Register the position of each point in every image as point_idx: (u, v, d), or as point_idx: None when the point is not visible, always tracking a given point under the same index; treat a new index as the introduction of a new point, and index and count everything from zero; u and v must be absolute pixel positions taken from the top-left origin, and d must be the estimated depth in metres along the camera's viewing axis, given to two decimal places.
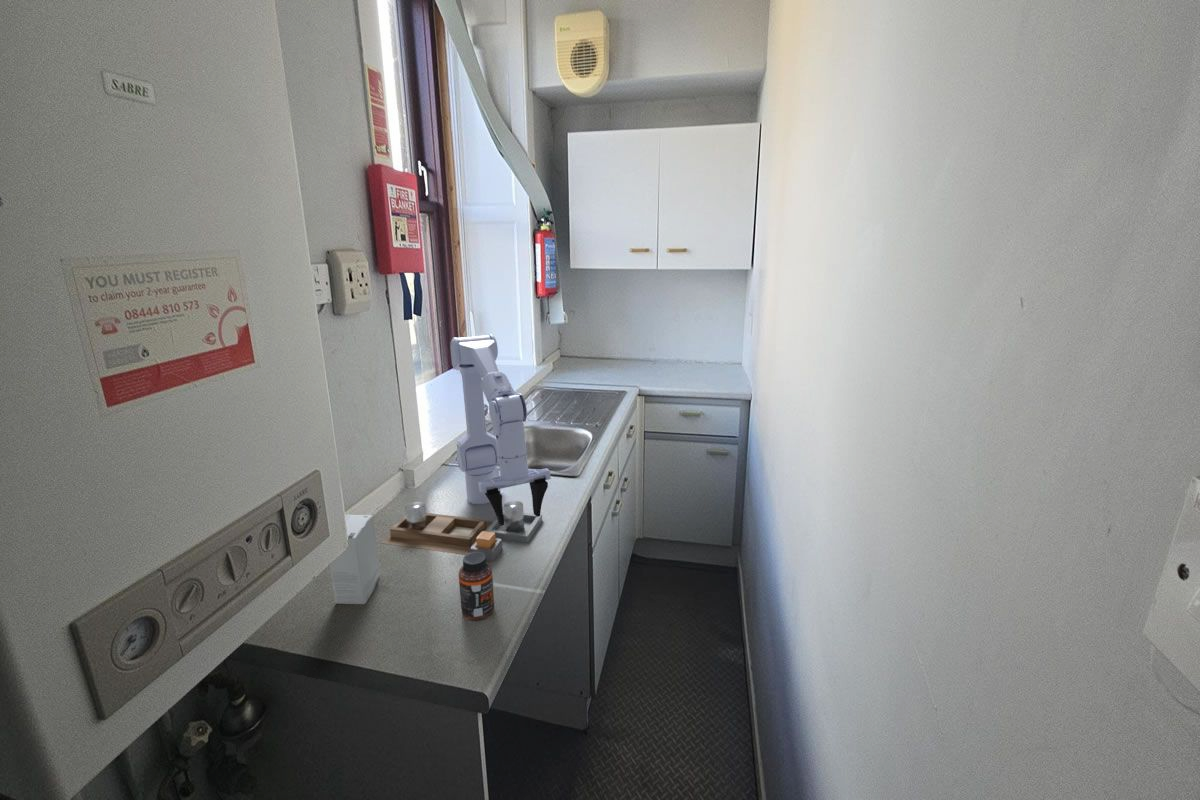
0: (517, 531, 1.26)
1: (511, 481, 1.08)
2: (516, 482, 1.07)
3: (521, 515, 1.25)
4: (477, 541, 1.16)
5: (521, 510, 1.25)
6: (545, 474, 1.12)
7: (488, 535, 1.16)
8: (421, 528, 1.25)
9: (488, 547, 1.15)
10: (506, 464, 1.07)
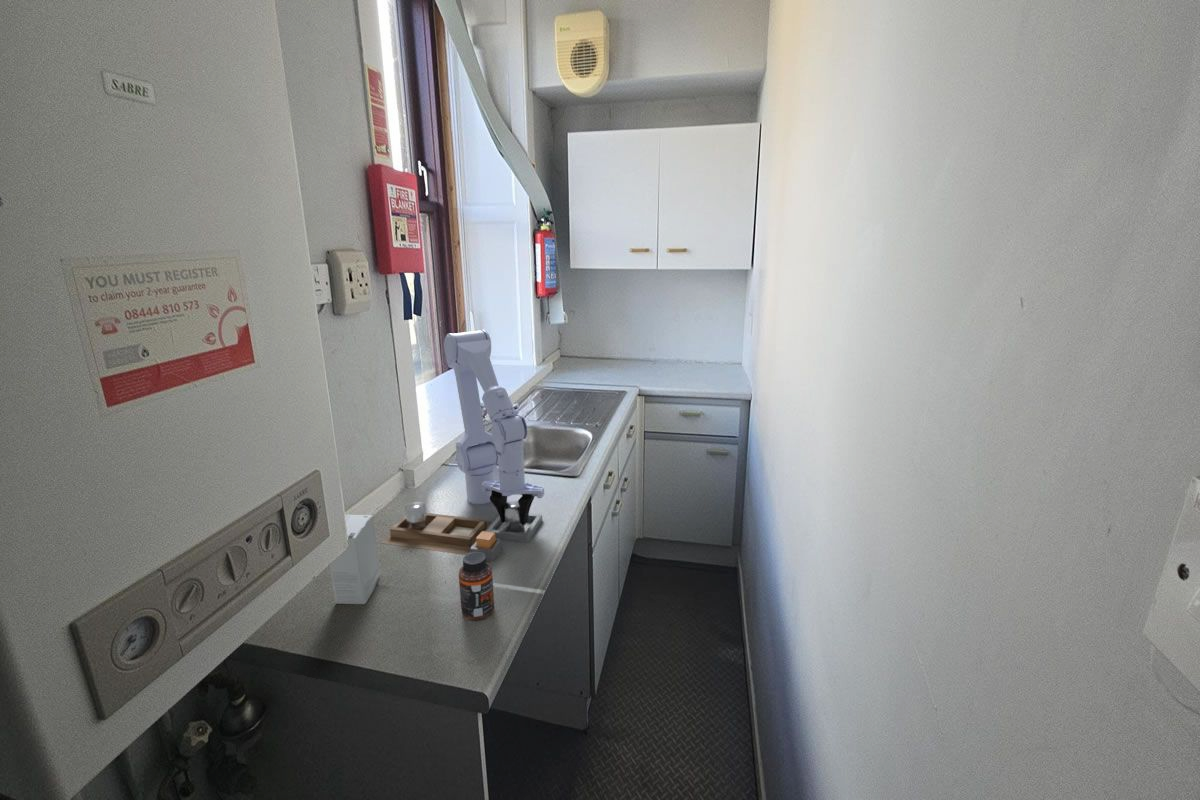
0: (517, 531, 1.26)
1: (501, 490, 1.22)
2: (502, 493, 1.21)
3: None
4: (477, 541, 1.16)
5: None
6: (536, 493, 1.22)
7: (488, 535, 1.16)
8: (421, 528, 1.25)
9: (488, 547, 1.15)
10: (499, 475, 1.22)
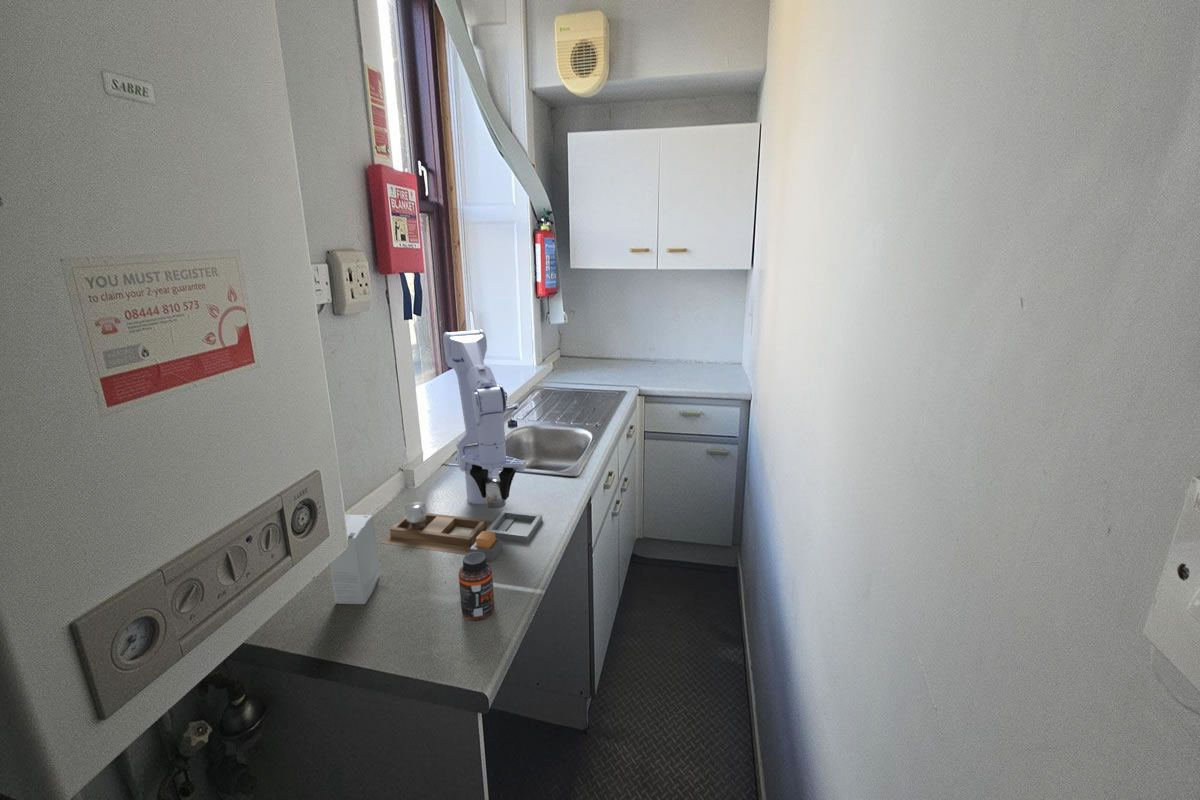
0: (498, 506, 1.23)
1: (481, 464, 1.19)
2: (482, 466, 1.18)
3: None
4: (477, 541, 1.16)
5: None
6: (517, 466, 1.19)
7: (488, 535, 1.16)
8: (421, 528, 1.25)
9: (488, 547, 1.15)
10: (479, 448, 1.19)
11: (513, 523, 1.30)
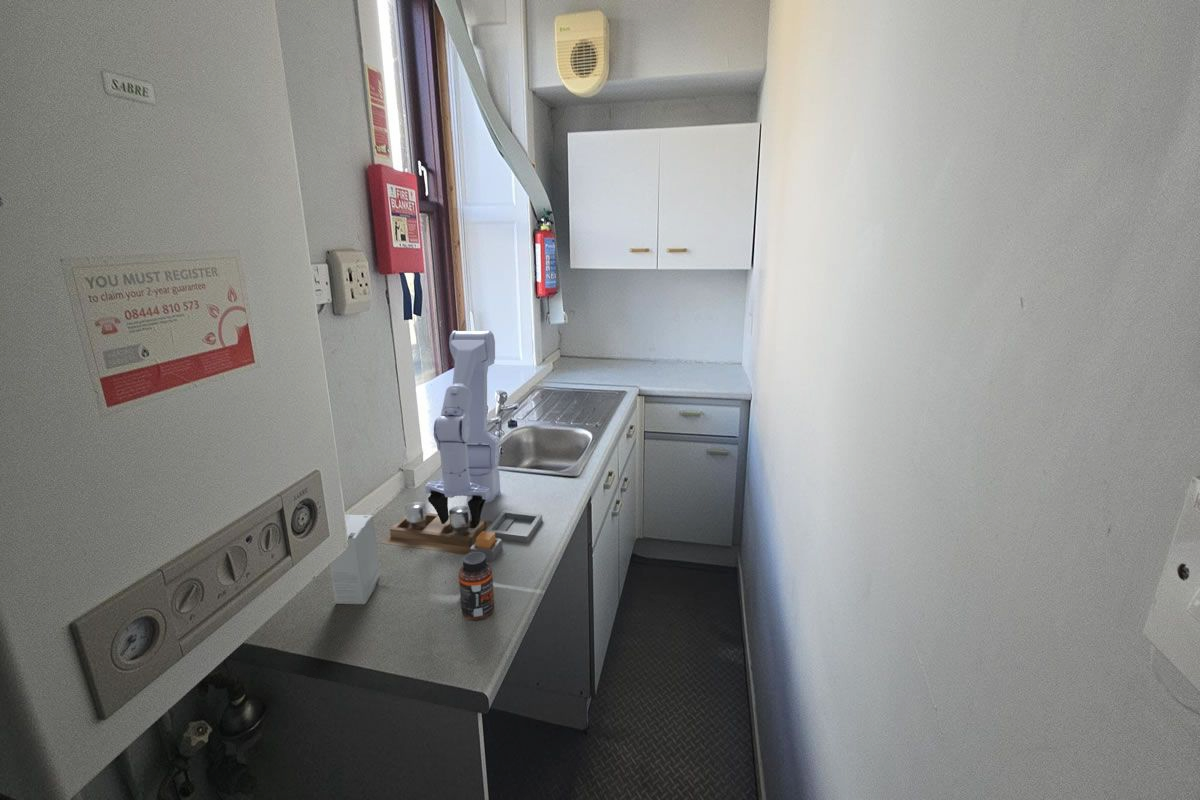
0: None
1: (444, 492, 1.19)
2: (445, 494, 1.17)
3: (466, 521, 1.22)
4: (477, 541, 1.16)
5: (466, 515, 1.22)
6: (481, 494, 1.19)
7: (488, 535, 1.16)
8: (421, 528, 1.25)
9: (488, 547, 1.15)
10: (443, 476, 1.18)
11: (513, 523, 1.30)
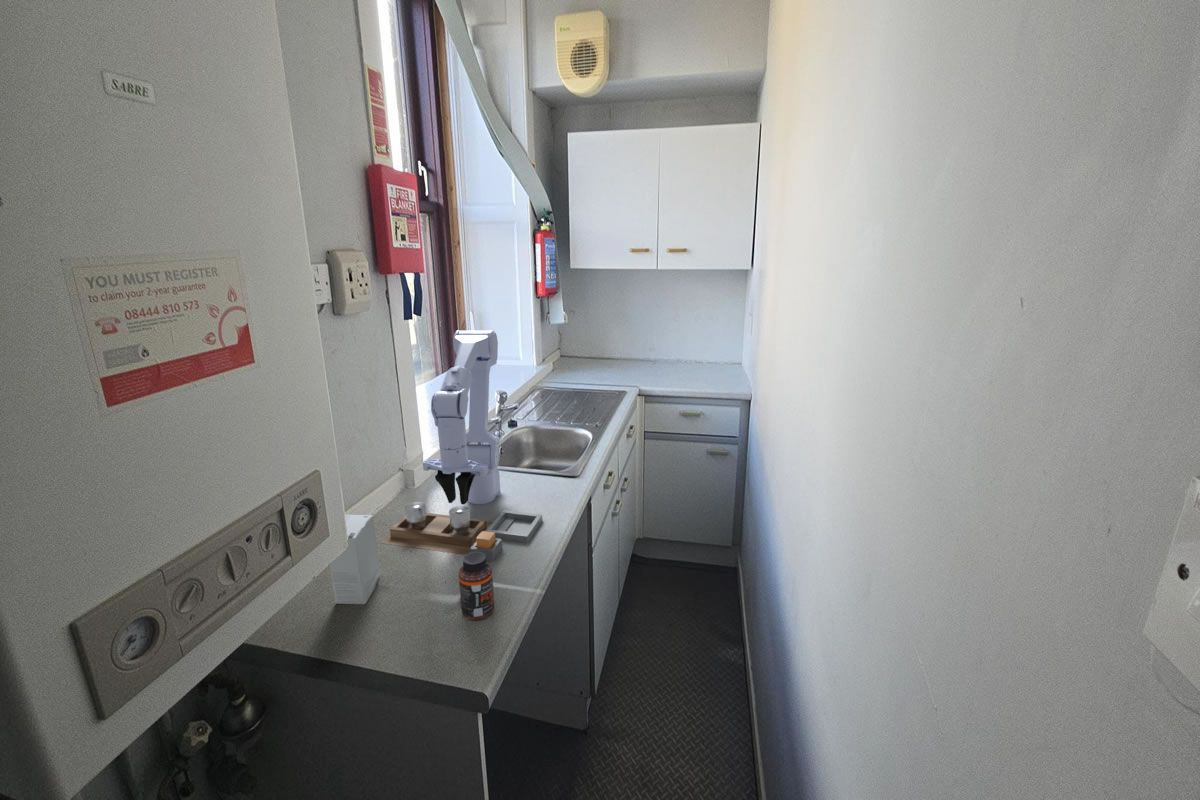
0: None
1: (442, 468, 1.17)
2: (442, 471, 1.16)
3: (466, 521, 1.22)
4: (477, 541, 1.16)
5: (466, 515, 1.22)
6: (479, 471, 1.17)
7: (488, 535, 1.16)
8: (421, 528, 1.25)
9: (488, 547, 1.15)
10: (440, 452, 1.17)
11: (513, 523, 1.30)
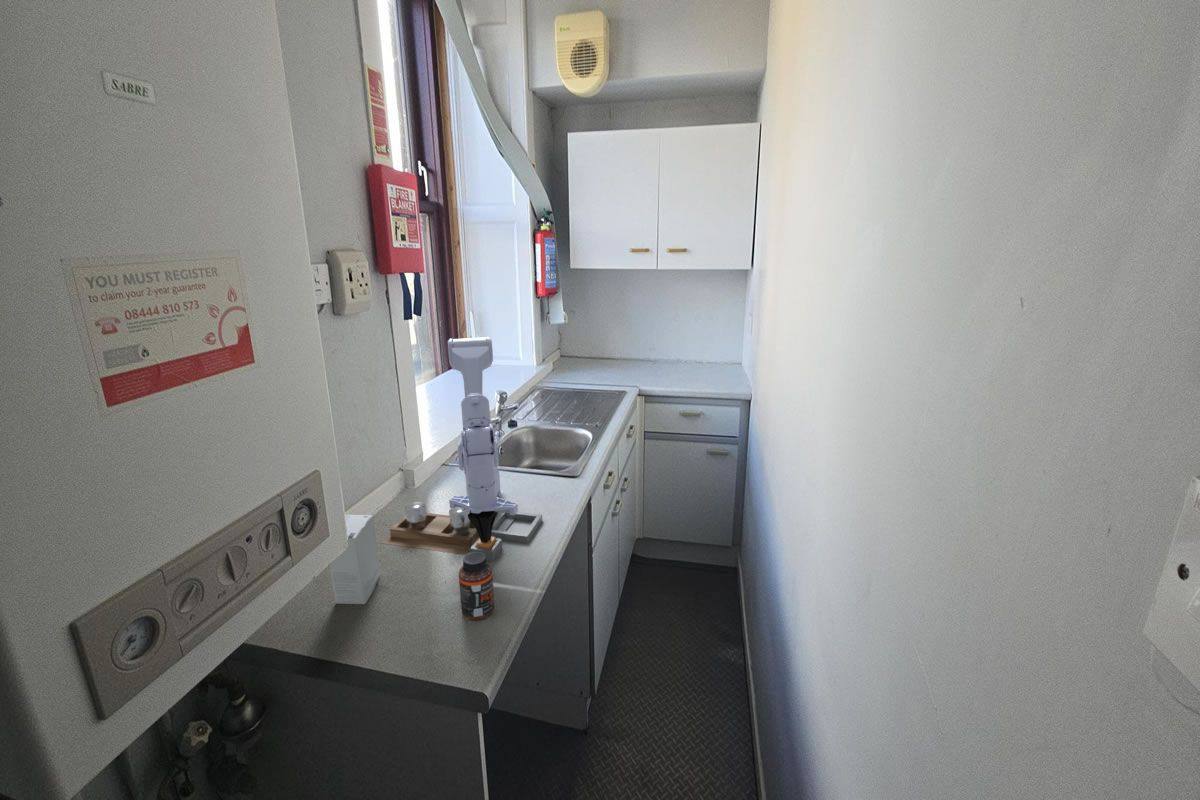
0: None
1: (470, 507, 1.12)
2: (471, 510, 1.11)
3: (466, 521, 1.22)
4: (477, 545, 1.16)
5: (466, 515, 1.22)
6: (509, 509, 1.12)
7: None
8: (421, 528, 1.25)
9: None
10: (468, 490, 1.12)
11: (513, 523, 1.30)
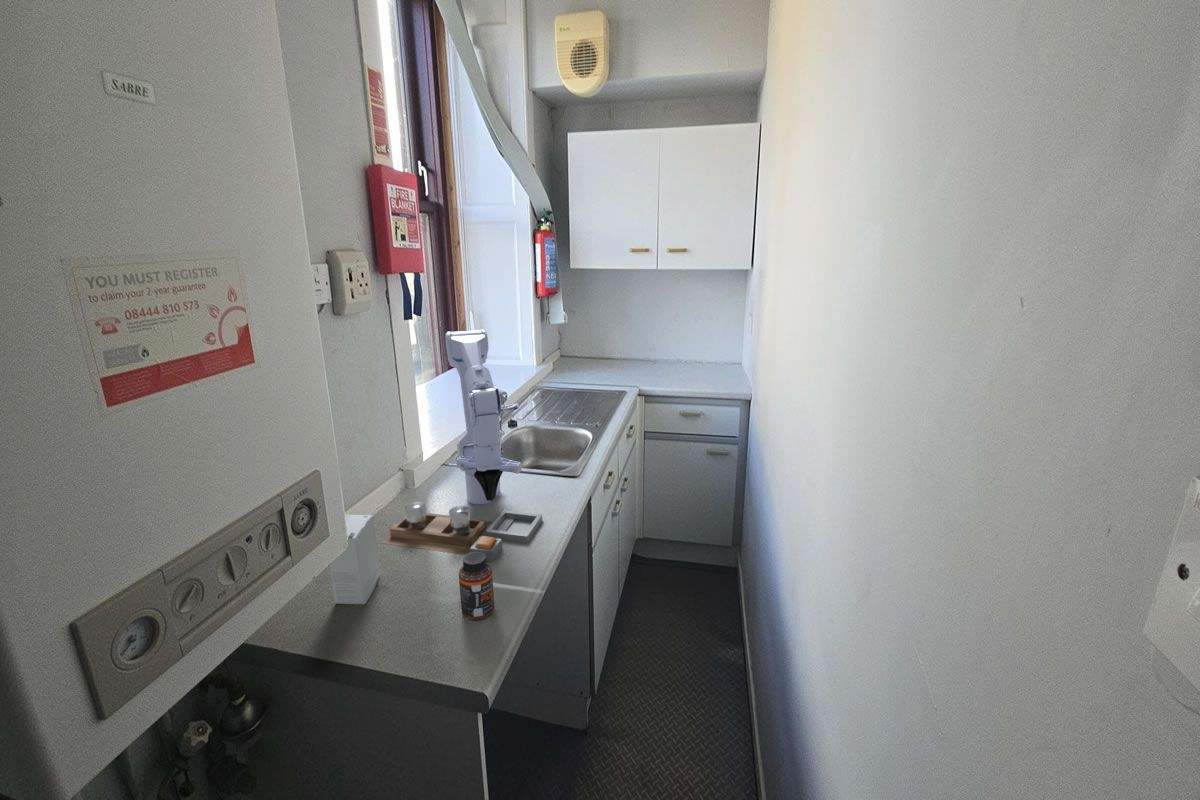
0: None
1: (476, 465, 1.18)
2: (477, 468, 1.17)
3: (466, 521, 1.22)
4: (477, 546, 1.16)
5: (466, 515, 1.22)
6: (513, 468, 1.18)
7: (488, 540, 1.17)
8: (421, 528, 1.25)
9: None
10: (475, 450, 1.18)
11: (513, 523, 1.30)
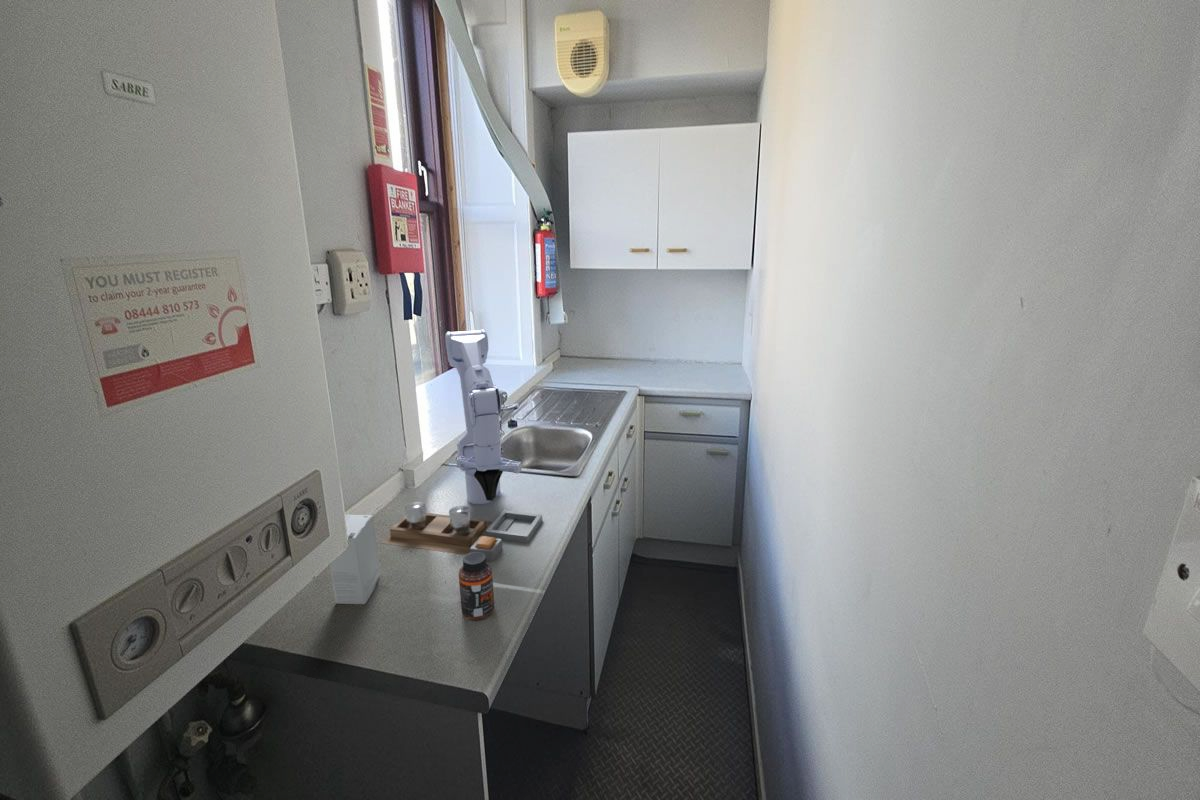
0: None
1: (476, 465, 1.18)
2: (477, 468, 1.17)
3: (466, 521, 1.22)
4: (477, 546, 1.16)
5: (466, 515, 1.22)
6: (513, 468, 1.18)
7: (488, 540, 1.17)
8: (421, 528, 1.25)
9: None
10: (475, 449, 1.18)
11: (513, 523, 1.30)
